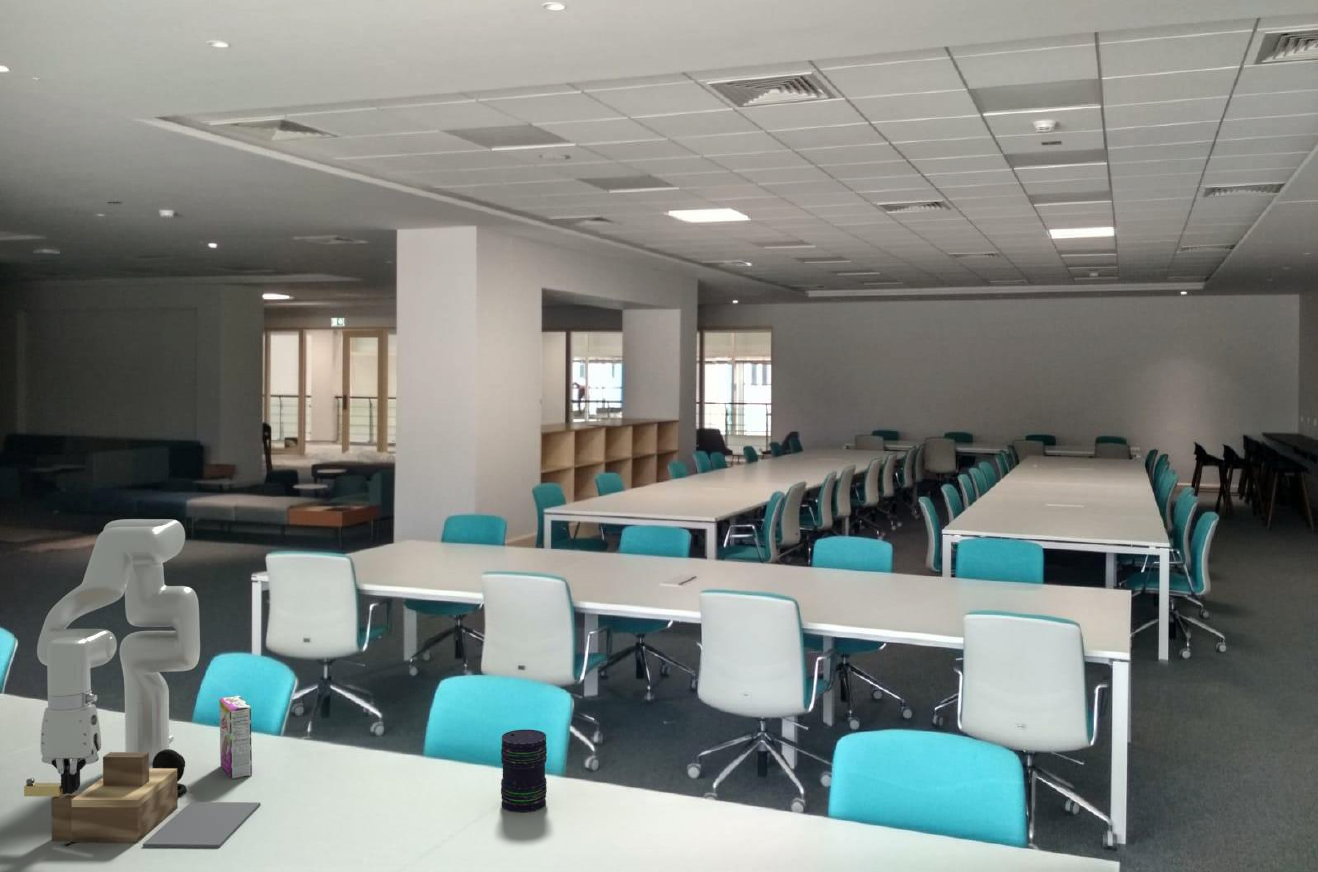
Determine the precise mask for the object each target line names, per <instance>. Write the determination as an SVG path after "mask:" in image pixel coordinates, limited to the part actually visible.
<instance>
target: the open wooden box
mask: <svg viewBox="0 0 1318 872" xmlns="http://www.w3.org/2000/svg"><path fill="white" fill-rule="evenodd" d="M177 783H178V782H177V776H176V777H175V778H174V779H172V780H171V781H170V782H169V783H167V784H166V785H165V786H164V787H162V788H161V789H160V790H159V791H158V792H156V793H155V794H154V795H153V796H151V797H150V798H149V799H148V800H146V801H145V802H144V803H143V804H142V805H140V806H139V807H72V799H73V798H75V797H76V796H77V795H79V792H77V793H76V792H74V793H72V794H68V793H67V794H63V795H61V796H60V797H50V799H51V806H50V807H51V810H50V811H51V813H50V815H51V841H55V842H56V841H58V842H59V841H61V842H62V841H71V843H121V844H122V843H125V844H127V843H128V844H130V843H134V844H135V843H139V842H140V841H142V840H143V838H145V837H146V836H147V835H148V834H149V833H151V832H152V831H153V830H154V829H155V828H156V827H158V826H159V825H160V824H161V823H162V822H163V821H164V820H166V818H168V817H169V816H170V815H171V814H173V813H174V812H175V811H176V810H178V808H179V806H178V801H179V800H178V798H179V797H177V791H178V790H177Z"/></svg>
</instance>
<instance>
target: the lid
mask: <svg viewBox="0 0 1318 872" xmlns="http://www.w3.org/2000/svg"><path fill="white" fill-rule="evenodd" d="M176 776H177V769H161V768H149V752H125V751H123V752H122V751H110V752H108V753H107V754H105V755H104V756H102V778H100V779H98V781H96V782H94V783H93V784H92V785H90V786H89V787H88V788H85V789H84V790H83V791H82V792H80V793H78V795H77V796H76V797H75V798H73V799H72V807H139V806H140V805H142V804H143V803H144V802H145V801H146V800H148V799H149V798H150V797H151V796H153V795H154V794H155V793H156V792H158V791H159V790H160V789H161V788H162V787H164V786H165V785H166V784H167V783H169V782H170V781H171V780H172V779H174V778H175V777H176Z"/></svg>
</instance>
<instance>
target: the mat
mask: <svg viewBox="0 0 1318 872" xmlns="http://www.w3.org/2000/svg"><path fill="white" fill-rule="evenodd" d="M261 804H262V803H261V802H255V801H254V802H243V801H242V802H241V801H240V802H236V801H234V802H233V801H229V802H228V801H225V802H223V801H190V802H189V803H188V804H187V805H186V806H185V807H183V808H182V809H181V810H179V812H178V813H177V814H175V815H174V816H173V817H172V818H171V819H169V820H168V821H167V822H166V823H165V824H164V825H162V826H161V827H160V828H159V829H158V830H157V831H156V832H155V833H154V834H152V835H151V836H150V837H149V838H148V839H147V840H145V842H143V843H142V847H143V848H200V849H201V848H203V849H205V848H208V849H209V848H213V849H215V848H217V849H219V848H221V847H222V846H224V845H223V844H225V843H226V842H227V841H228V840H229V838H231V836H233V834H234V833H235V832H236V831H238V829H239V828H240V827H241V826H242V825H244V823H245V822H246V821H247V820H248V819H249V818H250V817H251V816H252V815H253V814H254V812H256V811H257V809H259V808H260V807H261Z"/></svg>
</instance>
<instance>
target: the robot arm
mask: <svg viewBox="0 0 1318 872" xmlns="http://www.w3.org/2000/svg"><path fill="white" fill-rule="evenodd" d="M185 541H186V532H185V528H184V526H183V524H182V523H181V522H180V521H178V520H176V519H170V518H169V519H164V518H163V519H161V518H160V519H158V518H157V519H154V518H152V519H151V518H150V519H149V518H147V519H145V518H144V519H143V518H139V519H138V518H137V519H136V518H135V519H134V518H131V519H130V518H129V519H117V520H112V521H110V522H108V523H107V524H105V526H104V527H103V531H102V532H100V533H99V534H98V536H97V538H96V541H95V543H94V547H93V549H92V553H91V555H90V559H89V562H88V564H87V567H86V571H85V574H84V577H83V580H82V583H81V584H80V585H78V586H77V587H75V588H73V590H71V591H69V592H68V593H67V594H66V595H65V596H63V597H62V598H61V599H60V600H58V602H57V603H55V604H54V605H53V606H52V608H51V609H50V611H49V612H48V614H47V615H46V617H45V620H44V623H43V625H42V628H41V632H40V634H39V637H38V640H37V647H36V654H37V658H38V660H39V662H40V663H41V664H42V665H45V666H46V667H47V707H45V709H44V712H43V717H42V720H41V730H40V741H39V742H40V755H41V756H42V757H41V762H42V763H44V764H48V765H52V766H53V767H54V768H55V769H56V770H57V773H58V774H59V775H60V783H61V788H62V793H63V794H67V793H68V794H72V793H76V791H78V790H79V788H80V786H81V770H82V769H83V768H84V767H86V766H87V765H90V764H95V763H96V762H98V761H99V758H100V757H99V754H98V752H100V750H101V749H102V737H101V734H102V733H101V726H100V719H99V715H98V709H97V706H96V704H94V703H92V702H97V700H98V695H97V694H93V693H92V689H91V688H92V687H91V685H92V684H91V669H92V668H96V667H100V666H104V665H105V664H107V663H108V662H109V661H111V660H112V659H113V658H114V656H115V654H116V652H117V647H118V642H117V638H116V636H115V634H114V633H113V632H112V631H110V630H108V629H104V628H68V626H70V624H71V623H73V622H74V621H75V620H77V619H78V618H80V617H81V616H84V615H86V614H88V613H90V612H93V611H95V610H98V609H100V608H103V607H106V606H108V605H111V604H114V603H116V602H117V601H119V600H121V598H122V597H123V596H124V604H125V605H124V607H125V617H126V620H127V622H128V623H129V624H130V625H131V626H135V627H141V628H142V627H144V628H148V627H149V628H152V627H153V628H155V627H156V628H158V627H172V628H174V630H143V631H135V632H132V633H129V634H128V635H126V636H125V637H124V638H123V639H122V641H121V643H120V646H119V658H120V663H121V669H122V675H123V683H124V743H125V744H124V746H125V749H124V750H125V751H124V752H149V768H153V767H152V764H153V760H154V757H155V756H156V754H157V753H158V752H160V751H162V750H165V749H170V744H171V743H173V742H174V739H175V738H174V736H173V735H171V734H170V707H169V706H170V705H169V704H170V697H169V696H170V695H169V693H170V690H169V685H168V683H167V681H166V679H165V678H164V677H163V676H162V674H161V673H162V672H185V671H191V670H192V669H194V668H196V666H197V665H198V663H199V661H200V655H201V638H200V637H201V636H200V635H201V633H200V632H201V631H200V627H201V626H200V607H199V606H200V605H199V598H198V595H197V593H196V591H195V590H194V589H193V588H191V587H190V586H185V585H173V586H171V585H166V584H165V576H164V565H163V563H166V562H168V561H169V560H171V559H173V558H175V557H176V556H178V554H180V553H181V551H182V550H183V547H184V545H185Z"/></svg>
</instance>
